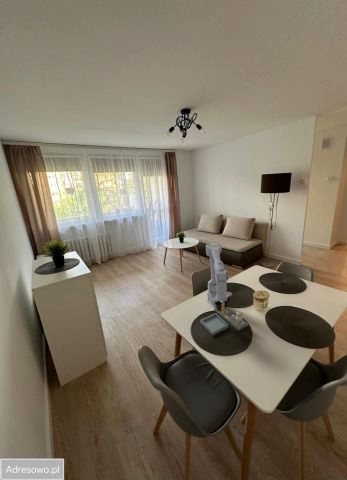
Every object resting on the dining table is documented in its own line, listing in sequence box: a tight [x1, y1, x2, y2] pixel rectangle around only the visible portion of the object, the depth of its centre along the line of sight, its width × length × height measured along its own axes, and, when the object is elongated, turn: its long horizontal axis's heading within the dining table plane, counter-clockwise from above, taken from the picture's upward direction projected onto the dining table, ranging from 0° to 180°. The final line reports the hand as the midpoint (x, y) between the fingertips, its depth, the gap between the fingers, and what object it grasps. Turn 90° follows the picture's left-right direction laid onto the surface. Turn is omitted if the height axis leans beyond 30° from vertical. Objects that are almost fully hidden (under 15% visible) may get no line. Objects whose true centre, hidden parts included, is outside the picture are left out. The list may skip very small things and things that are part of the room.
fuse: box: [235, 310, 243, 325], centre depth 113 cm, size 4×4×7 cm
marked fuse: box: [219, 301, 225, 313], centre depth 114 cm, size 4×4×7 cm
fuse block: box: [213, 306, 249, 332], centre depth 120 cm, size 22×8×3 cm, turn 27°
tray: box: [199, 312, 230, 337], centre depth 115 cm, size 12×12×2 cm
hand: (221, 309), depth 115 cm, fingers closed on marked fuse, 3 cm apart
